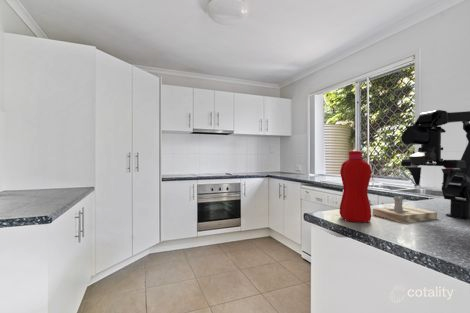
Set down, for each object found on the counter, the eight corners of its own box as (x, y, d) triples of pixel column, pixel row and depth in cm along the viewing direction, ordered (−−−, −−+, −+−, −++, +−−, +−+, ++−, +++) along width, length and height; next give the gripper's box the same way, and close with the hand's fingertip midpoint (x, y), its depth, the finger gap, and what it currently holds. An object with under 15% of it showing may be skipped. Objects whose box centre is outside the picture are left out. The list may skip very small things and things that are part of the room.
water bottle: (379, 223, 81) (380, 150, 81) (347, 223, 82) (347, 150, 82) (366, 217, 90) (367, 151, 90) (337, 216, 91) (337, 151, 91)
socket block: (404, 211, 100) (404, 205, 100) (437, 218, 88) (437, 212, 88) (372, 214, 94) (372, 208, 94) (402, 222, 82) (402, 215, 82)
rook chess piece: (407, 219, 87) (408, 197, 87) (394, 218, 88) (394, 197, 88) (402, 216, 92) (402, 195, 92) (389, 215, 93) (389, 195, 93)
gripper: (391, 145, 95) (391, 184, 95) (446, 143, 77) (445, 190, 77) (410, 146, 98) (410, 183, 98) (467, 143, 81) (466, 189, 81)
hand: (430, 186), depth 89 cm, fingers open, 9 cm apart
